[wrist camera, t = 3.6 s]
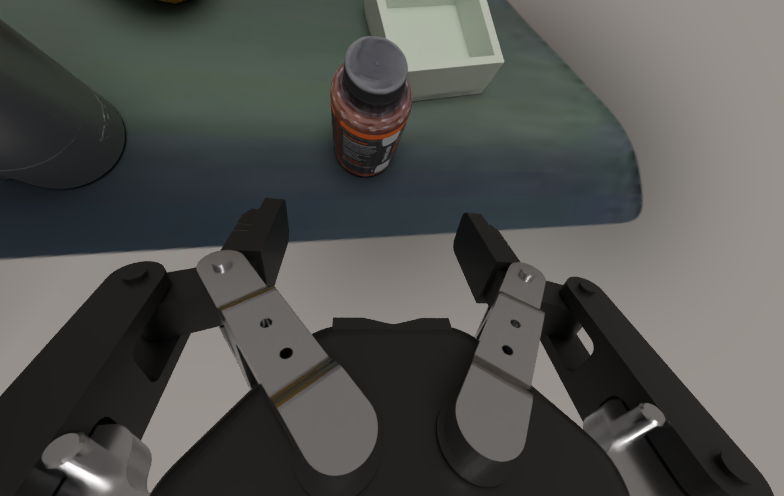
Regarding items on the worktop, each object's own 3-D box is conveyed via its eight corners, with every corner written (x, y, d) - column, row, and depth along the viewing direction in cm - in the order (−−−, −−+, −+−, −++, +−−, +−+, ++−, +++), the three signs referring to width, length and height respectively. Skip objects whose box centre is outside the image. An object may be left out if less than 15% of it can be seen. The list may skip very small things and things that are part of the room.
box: (387, 104, 29) (395, 72, 25) (363, 9, 30) (367, -38, 26) (481, 93, 31) (504, 62, 27) (457, 4, 32) (475, -40, 28)
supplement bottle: (397, 176, 28) (430, 108, 17) (338, 180, 27) (333, 111, 16) (388, 121, 29) (416, 21, 18) (330, 123, 28) (321, 18, 17)
